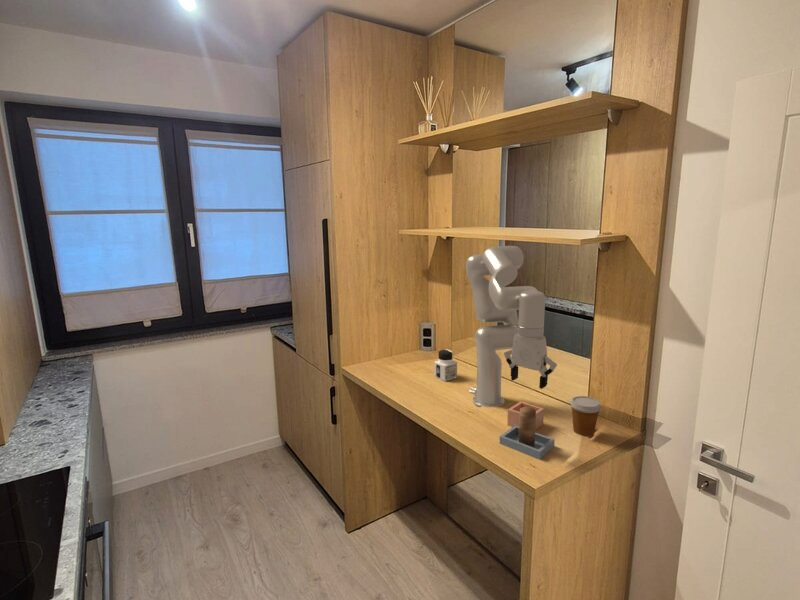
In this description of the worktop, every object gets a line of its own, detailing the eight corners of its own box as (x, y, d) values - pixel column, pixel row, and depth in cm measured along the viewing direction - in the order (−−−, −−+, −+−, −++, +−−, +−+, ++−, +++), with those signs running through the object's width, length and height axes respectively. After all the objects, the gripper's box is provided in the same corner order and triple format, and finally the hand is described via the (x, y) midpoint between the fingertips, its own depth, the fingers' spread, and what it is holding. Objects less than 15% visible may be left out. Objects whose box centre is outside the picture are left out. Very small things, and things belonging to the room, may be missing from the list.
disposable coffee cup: (588, 444, 141) (591, 410, 138) (563, 432, 148) (564, 400, 146) (604, 435, 146) (606, 402, 144) (578, 424, 154) (580, 393, 151)
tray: (499, 446, 141) (499, 436, 140) (515, 434, 148) (515, 425, 147) (539, 462, 131) (539, 452, 130) (554, 449, 138) (554, 439, 137)
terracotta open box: (507, 427, 153) (507, 409, 151) (520, 418, 159) (520, 401, 157) (530, 436, 146) (531, 417, 145) (543, 426, 153) (543, 408, 151)
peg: (515, 445, 139) (516, 410, 137) (523, 439, 143) (524, 405, 140) (529, 450, 136) (531, 415, 133) (537, 444, 139) (538, 410, 137)
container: (445, 381, 196) (445, 354, 193) (434, 376, 202) (433, 350, 199) (457, 377, 200) (457, 351, 198) (446, 373, 206) (446, 347, 204)
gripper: (499, 328, 135) (498, 379, 139) (552, 339, 123) (548, 394, 127) (511, 323, 140) (510, 372, 144) (563, 333, 128) (560, 387, 132)
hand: (528, 383), depth 135 cm, fingers open, 9 cm apart
